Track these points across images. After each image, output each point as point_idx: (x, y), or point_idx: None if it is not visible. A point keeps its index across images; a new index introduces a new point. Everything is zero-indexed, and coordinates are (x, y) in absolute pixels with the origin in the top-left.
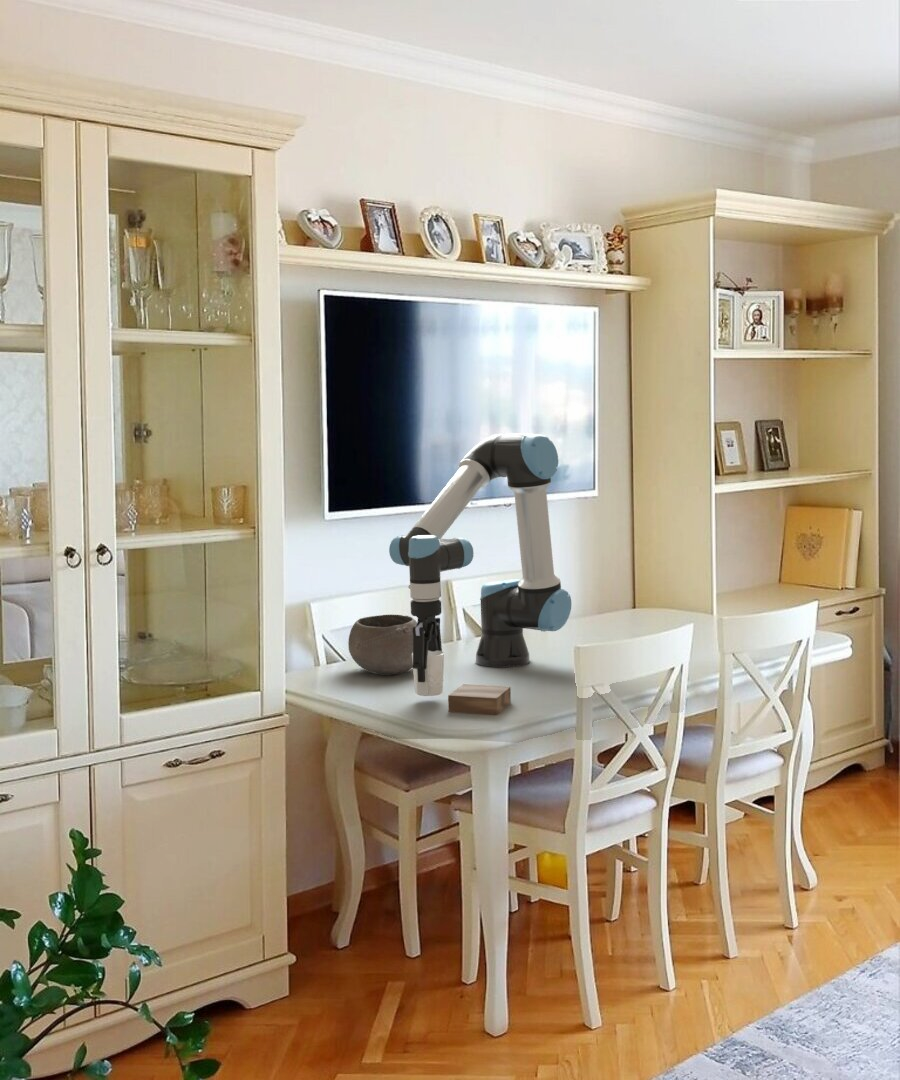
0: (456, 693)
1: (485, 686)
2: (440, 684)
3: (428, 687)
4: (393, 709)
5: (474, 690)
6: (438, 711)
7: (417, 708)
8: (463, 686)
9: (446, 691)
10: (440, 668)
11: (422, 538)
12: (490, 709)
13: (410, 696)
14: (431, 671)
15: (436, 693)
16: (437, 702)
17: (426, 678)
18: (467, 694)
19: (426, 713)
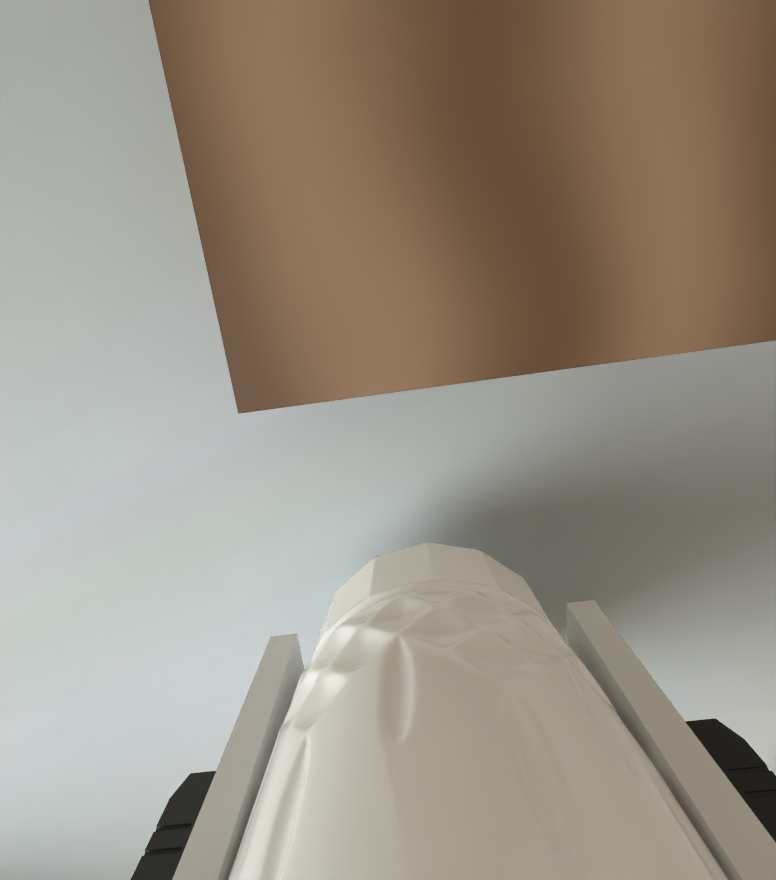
0: (682, 288)
1: (229, 104)
2: (453, 589)
3: (602, 645)
4: (697, 716)
5: (473, 143)
6: (678, 419)
7: (631, 593)
8: (336, 366)
9: (109, 618)
10: (520, 734)
11: None
12: None
13: None
14: (667, 786)
15: (498, 563)
16: (423, 542)
17: (688, 739)
18: (699, 130)
19: (758, 475)
